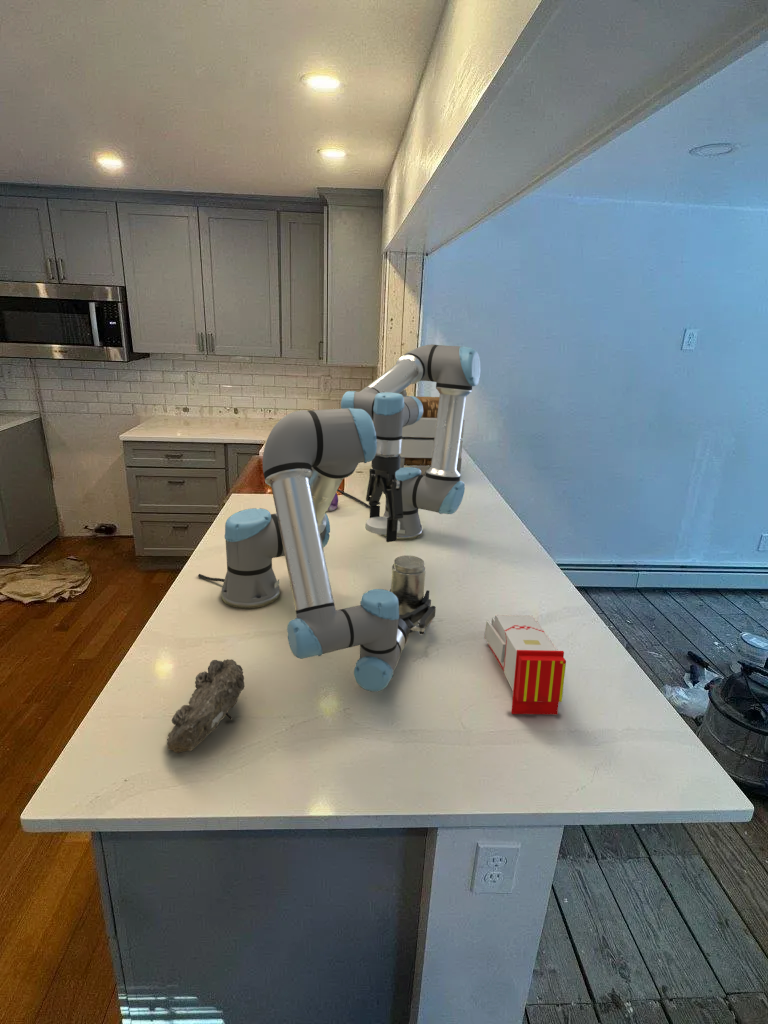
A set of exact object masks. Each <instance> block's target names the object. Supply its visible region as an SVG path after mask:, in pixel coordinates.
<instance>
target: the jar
mask: <svg viewBox="0 0 768 1024" xmlns="http://www.w3.org/2000/svg"><path fill="white" fill-rule="evenodd" d="M390 581H391V582H390V589H391V592H392V593H393V594H394V595H395V596H396V597H397V598H398V602H399V615H404V614H406V613H408V612H410V613H411V612H412V611H414V610H415V609H417V608H419V607H420V606H422V600H423V598H424V596H425V583H426V563H425V561H424V560H423V559H422V558H421V557H419V556H414V555H400V556H398V557H396V558H394V560H393V564H392V565H391V580H390ZM418 621H420V620H418ZM418 621H417V622H415V623H413V625H416V624H417V623H418Z"/></svg>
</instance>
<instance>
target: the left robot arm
mask: <svg viewBox="0 0 768 1024" xmlns="http://www.w3.org/2000/svg"><path fill="white" fill-rule="evenodd" d="M376 449H377V440H376V432H375V427H374V424H373V421H372V419H371V417H370V415H369V414H368V413H367V412H366V411H365V410H362V409H351V408H345V409H341V408H329V409H311V410H306V409H304V410H303V409H302V410H296V411H292V412H290V413H288V414H286V415H285V416H283V417H282V418H281V419H280V420H278V421H277V422H276V423H275V425H274V426H273V428H272V429H271V430H270V433H269V434H268V437H267V439H266V441H265V444H264V448H263V452H262V472H263V477H264V478H263V479H264V482H265V484H266V485H268V486H269V487H271V491H272V497H273V503H274V508H275V513H271V512H270V511H269V510H268V509H266V508H261V507H259V508H256V507H253V508H246V509H242V510H238V511H237V512H234V513H232V514H231V515H230V516H229V517H228V518H227V519H226V521H225V523H224V524H225V525H224V540H225V552H226V553H225V555H226V573H225V576H224V578H219V577H211V576H206V575H204V574H201V573H198V575H197V577H199V578H201V579H204V580H206V581H212V582H222V583H223V584H222V586H221V600H222V601H223V603H224V604H226V605H227V606H230V607H233V608H235V609H236V608H237V609H257V608H262V607H265V606H268V605H270V604H272V603H274V602H275V601H276V600H278V598H279V597H280V585H279V584H280V579H277V577H276V574H275V572H274V569H273V559H274V558H280V557H284V558H285V563H286V569H287V574H288V579H289V584H290V589H291V594H292V595H291V596H292V598H293V605H294V609H295V616H296V617H295V618H294V619H293V618H292V619H290V620H289V622H288V623H287V627H286V632H287V642H288V646H289V648H290V651H291V653H292V655H293V656H294V657H296V658H297V659H300V660H303V659H308V658H313V657H322V656H323V655H326V654H329V653H333V652H337V651H341V650H344V649H348V648H353V647H358V646H359V657H358V659H357V661H356V662H355V665H354V670H353V677H354V680H355V682H356V683H357V685H358V686H359V687H361V688H362V689H364V690H365V691H369V692H373V693H375V692H376V693H377V692H380V691H382V690H384V689H386V688H387V687H388V685H389V683H390V681H391V680H392V679H393V677H394V672H395V671H396V669H397V665H398V663H399V660H400V658H401V655H402V653H403V650H404V648H405V645H406V643H407V641H408V639H409V636H410V634H412V633H413V632H418V634H419V635H425V630H426V628H427V627H428V626H429V625H430V623H431V622H432V621H433V619H435V617H436V611H437V610H436V609H437V606H436V605H432V600H431V599H430V590H425V592H424V597H423V600H422V606H420V607H419V608H417V609H415V610H414V611H412V612H411V613H410V612H408V613H406V614H404V615H399V602H398V598H397V597H396V596H395V595H394V594H393V593H392V592H391V588H390V589H389V590H388V589H383V588H374V589H373V588H372V589H370V590H367V591H366V592H364V593H363V594H362V595H361V599H360V602H359V605H355V606H350V607H346V608H345V607H344V608H341V609H336V606H335V600H334V595H333V589H332V585H331V581H330V576H329V575H330V574H329V570H328V566H327V560H326V556H325V552H324V548H325V547H326V546H327V544H328V542H329V540H330V533H331V524H330V520H329V516H328V515H327V512H328V511H327V510H328V508H329V506H330V504H331V502H332V500H333V498H334V496H335V494H336V493H337V492H338V491H337V490H338V489H340V486H341V484H342V482H343V480H344V479H346V478H348V477H350V476H351V475H352V474H354V473H355V471H356V469H357V467H358V465H359V464H361V463H364V464H367V463H369V462H372V460H373V459H374V457H375V455H376ZM418 620H420V621H418ZM417 621H418V623H417V624H416V625H413V623H415V622H417Z"/></svg>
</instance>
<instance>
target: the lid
mask: <svg viewBox="0 0 768 1024" xmlns="http://www.w3.org/2000/svg"><path fill="white" fill-rule="evenodd" d="M387 518H388V517H383V516H380V517H372V518H370V517H369V518H367V519H365V530H366V531H368V532H369V533H371V534H375V535H381V534H382V535H381V536H383V535H386V534H387ZM399 530H400V522H399V521H398V525H397V532H398V531H399Z"/></svg>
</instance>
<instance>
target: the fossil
mask: <svg viewBox="0 0 768 1024" xmlns="http://www.w3.org/2000/svg"><path fill="white" fill-rule="evenodd" d="M243 670H244V669H243V667H242V665H240V664H237V662H236V661H235V660H234V659H232V658H231V659H227V658H226V659H224V660H223V661H222V660H217V659H212V660H211V661H210V663H209V665H208V666H207V671H201V672H199V673H198V674H197V675H196V676H195V680H194V684H195V685H194V687H195V689H194V690H193V693H192V694H191V697H190V698H189V700H188V704H184V705H182V706H181V707H180V709H177V710H176V711H175V713H174V715H173V716H172V718H171V723H172V724H173V727H172V730H171V731H170V732H168V734H167V738H166V741H167V742H166V745H167V749H168V750H169V751H173V752H174V753H176V754H178V753H182V752H188V751H189V752H192V751H193V750H195V748H196V747H197V746H199V744H200V743H201V742H203V741H204V740H205V739H206V738H207V737H208V736H209V735H210V734H211V733H212V732H214V730H215V729H217V727H218V726H219V724H220V722H221V721H222V720H223V719H224V718H225V716H226V717H227V719H229V720H233V717H232V715H230V714H229V710H230V709H231V708H234V706H235V704H236V703H237V702H238V699H239V697H240V695H241V693H242V691H243V690H245V689H244V688H245V675H244V671H243Z"/></svg>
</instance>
